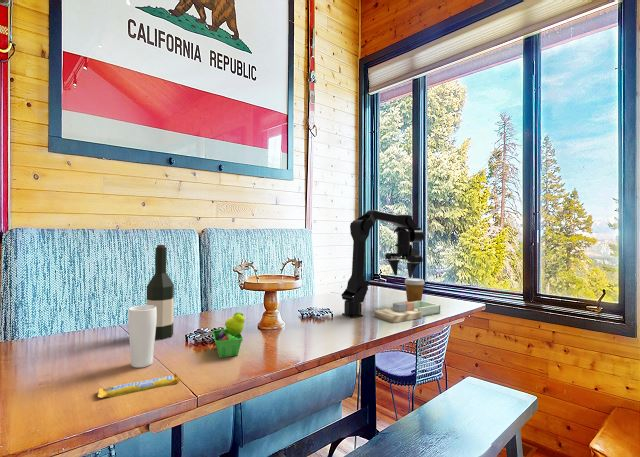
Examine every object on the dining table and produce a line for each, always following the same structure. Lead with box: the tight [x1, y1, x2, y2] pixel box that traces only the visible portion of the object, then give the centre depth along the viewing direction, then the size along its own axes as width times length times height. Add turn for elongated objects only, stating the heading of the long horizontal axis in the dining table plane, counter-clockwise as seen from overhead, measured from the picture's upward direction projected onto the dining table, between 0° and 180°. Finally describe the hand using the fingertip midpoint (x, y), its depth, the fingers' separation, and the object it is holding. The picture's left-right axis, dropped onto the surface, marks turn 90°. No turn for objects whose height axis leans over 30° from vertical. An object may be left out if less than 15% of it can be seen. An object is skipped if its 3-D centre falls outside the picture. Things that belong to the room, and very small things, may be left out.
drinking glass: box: [127, 304, 157, 369], centre depth 97 cm, size 7×7×15 cm
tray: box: [412, 300, 441, 317], centre depth 162 cm, size 13×11×4 cm
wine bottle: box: [145, 244, 175, 341], centre depth 122 cm, size 8×8×30 cm
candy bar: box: [97, 373, 182, 399], centre depth 84 cm, size 17×4×2 cm, turn 122°
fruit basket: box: [212, 311, 246, 358], centre depth 109 cm, size 11×9×11 cm
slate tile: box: [392, 301, 407, 312], centre depth 154 cm, size 4×4×3 cm
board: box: [373, 307, 423, 324], centre depth 153 cm, size 16×11×2 cm
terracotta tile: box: [400, 300, 414, 311], centre depth 156 cm, size 4×4×3 cm
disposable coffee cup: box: [404, 277, 426, 302], centre depth 178 cm, size 10×10×12 cm
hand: (402, 276), depth 169 cm, fingers open, 9 cm apart
